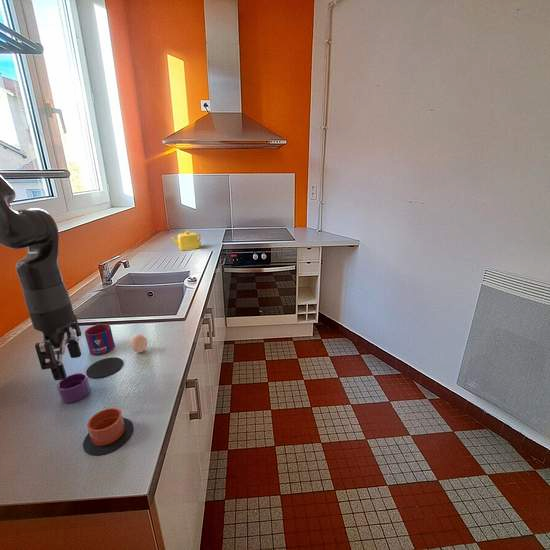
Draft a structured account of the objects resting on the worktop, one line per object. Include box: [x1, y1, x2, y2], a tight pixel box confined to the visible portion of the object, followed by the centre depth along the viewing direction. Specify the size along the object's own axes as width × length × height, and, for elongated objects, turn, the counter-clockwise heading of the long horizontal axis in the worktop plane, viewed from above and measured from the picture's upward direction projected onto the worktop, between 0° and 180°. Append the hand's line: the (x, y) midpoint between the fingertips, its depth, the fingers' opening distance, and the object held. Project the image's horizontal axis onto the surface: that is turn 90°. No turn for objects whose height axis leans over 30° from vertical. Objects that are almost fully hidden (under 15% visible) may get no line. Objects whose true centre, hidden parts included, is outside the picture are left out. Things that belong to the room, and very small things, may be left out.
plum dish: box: [56, 372, 91, 404], centre depth 72 cm, size 6×6×4 cm
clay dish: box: [86, 407, 125, 446], centre depth 60 cm, size 6×6×4 cm
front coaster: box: [82, 417, 134, 457], centre depth 61 cm, size 9×9×1 cm
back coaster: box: [85, 356, 124, 379], centre depth 82 cm, size 9×9×1 cm
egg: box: [130, 333, 148, 354], centre depth 89 cm, size 4×4×6 cm
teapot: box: [171, 230, 202, 251], centre depth 209 cm, size 20×12×12 cm, turn 115°
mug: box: [84, 322, 116, 356], centre depth 92 cm, size 7×10×7 cm
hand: (69, 367), depth 70 cm, fingers open, 8 cm apart
